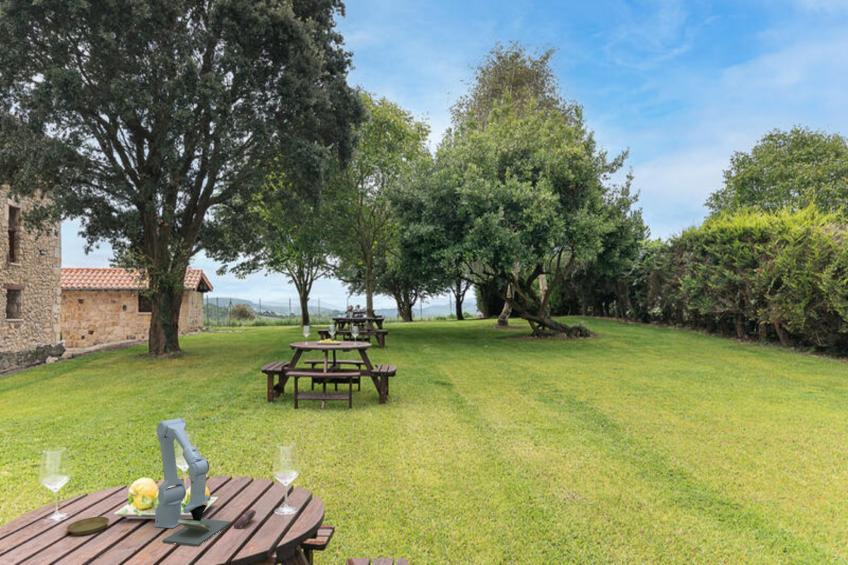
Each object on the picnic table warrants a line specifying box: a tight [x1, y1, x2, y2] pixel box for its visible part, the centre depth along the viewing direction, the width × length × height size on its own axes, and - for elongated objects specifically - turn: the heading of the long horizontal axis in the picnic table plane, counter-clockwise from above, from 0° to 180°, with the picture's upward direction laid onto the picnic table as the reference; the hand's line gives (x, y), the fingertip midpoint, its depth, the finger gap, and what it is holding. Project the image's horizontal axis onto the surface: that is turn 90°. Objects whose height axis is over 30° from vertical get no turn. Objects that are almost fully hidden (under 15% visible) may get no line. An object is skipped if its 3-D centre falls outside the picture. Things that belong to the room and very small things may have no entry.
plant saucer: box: [66, 516, 110, 536], centre depth 208 cm, size 15×15×3 cm
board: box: [161, 518, 232, 547], centre depth 205 cm, size 16×22×1 cm
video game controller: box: [233, 508, 257, 529], centre depth 213 cm, size 10×5×7 cm, turn 169°
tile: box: [178, 518, 211, 530], centre depth 202 cm, size 9×10×1 cm
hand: (196, 524), depth 204 cm, fingers closed, pressing on tile
